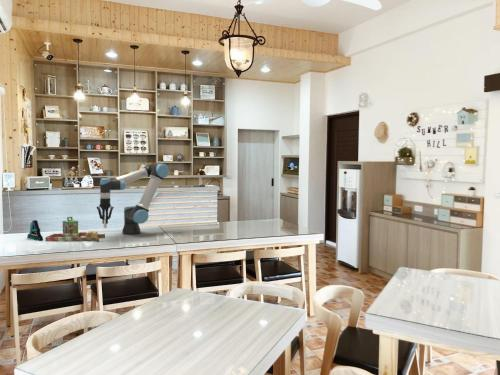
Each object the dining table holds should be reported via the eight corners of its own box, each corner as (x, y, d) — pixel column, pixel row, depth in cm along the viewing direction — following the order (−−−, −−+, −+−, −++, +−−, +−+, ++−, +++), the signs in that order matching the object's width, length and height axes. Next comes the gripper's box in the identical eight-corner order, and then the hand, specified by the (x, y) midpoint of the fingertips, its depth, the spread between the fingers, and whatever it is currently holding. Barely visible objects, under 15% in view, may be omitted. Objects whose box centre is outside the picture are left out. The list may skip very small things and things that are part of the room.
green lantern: (68, 236, 341) (67, 218, 340) (62, 234, 347) (61, 217, 346) (78, 234, 349) (78, 217, 347) (72, 233, 354) (72, 215, 353)
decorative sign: (43, 240, 324) (42, 221, 323) (40, 241, 322) (39, 221, 321) (30, 237, 334) (29, 219, 333) (27, 238, 332) (26, 219, 331)
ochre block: (97, 238, 333) (97, 231, 332) (94, 240, 326) (94, 233, 326) (88, 238, 333) (88, 231, 332) (85, 240, 326) (85, 233, 325)
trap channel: (107, 236, 344) (107, 232, 344) (98, 241, 322) (98, 237, 322) (57, 235, 343) (57, 232, 343) (45, 241, 321) (45, 237, 321)
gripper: (95, 198, 323) (95, 228, 325) (112, 198, 323) (112, 228, 325) (98, 197, 331) (98, 226, 332) (115, 197, 331) (114, 227, 333)
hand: (105, 227), depth 329 cm, fingers closed
